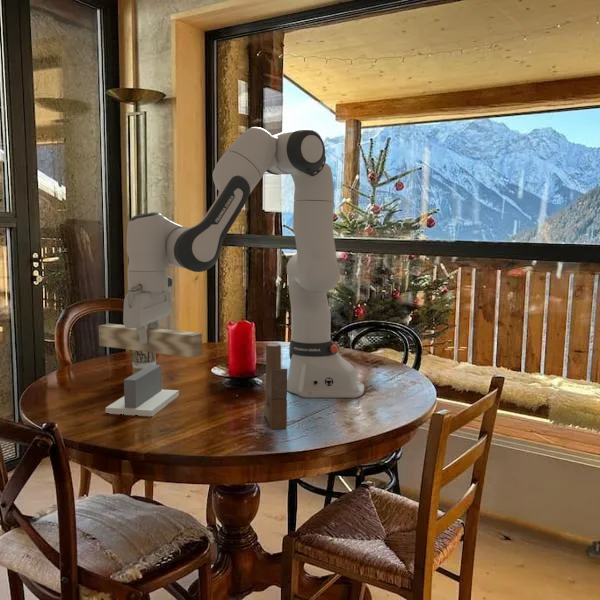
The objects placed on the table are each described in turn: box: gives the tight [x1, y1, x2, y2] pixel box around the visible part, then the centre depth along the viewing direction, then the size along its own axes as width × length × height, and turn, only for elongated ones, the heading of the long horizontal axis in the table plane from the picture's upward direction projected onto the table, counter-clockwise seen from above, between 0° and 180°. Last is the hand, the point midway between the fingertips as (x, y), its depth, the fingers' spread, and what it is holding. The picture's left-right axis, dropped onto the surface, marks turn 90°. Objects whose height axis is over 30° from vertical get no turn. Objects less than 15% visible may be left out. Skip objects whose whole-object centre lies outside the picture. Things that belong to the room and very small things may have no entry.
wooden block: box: [263, 343, 288, 431], centre depth 140 cm, size 4×11×18 cm, turn 12°
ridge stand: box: [105, 364, 180, 417], centre depth 153 cm, size 12×18×8 cm, turn 171°
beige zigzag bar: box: [98, 323, 203, 358], centre depth 141 cm, size 28×4×5 cm, turn 64°
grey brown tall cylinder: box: [131, 324, 157, 375], centre depth 176 cm, size 7×7×25 cm
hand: (149, 340), depth 141 cm, fingers closed on beige zigzag bar, 4 cm apart
